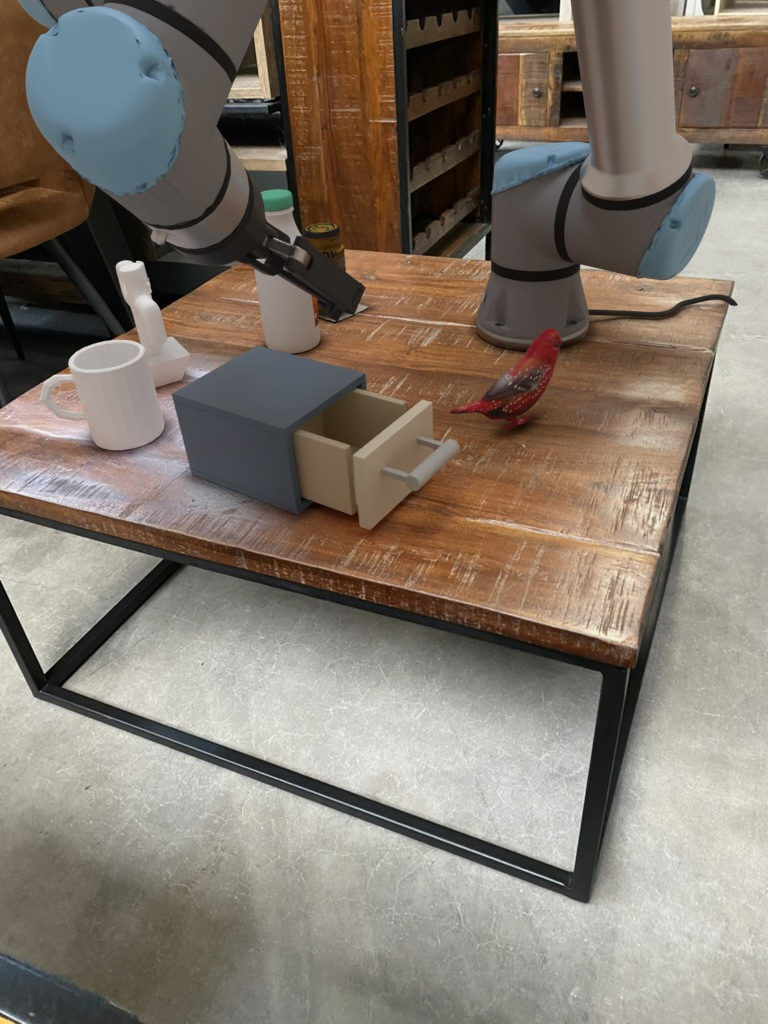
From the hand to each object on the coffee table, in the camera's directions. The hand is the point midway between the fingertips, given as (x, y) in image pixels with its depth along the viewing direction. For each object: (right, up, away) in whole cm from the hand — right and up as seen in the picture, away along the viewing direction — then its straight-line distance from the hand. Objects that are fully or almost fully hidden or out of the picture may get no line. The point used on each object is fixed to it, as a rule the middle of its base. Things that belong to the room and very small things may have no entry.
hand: (276, 279), depth 73 cm
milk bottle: (-2, +1, +34) cm, 34 cm away
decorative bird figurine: (+24, -14, +11) cm, 30 cm away
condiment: (+3, +8, +43) cm, 44 cm away
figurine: (-19, -5, +27) cm, 33 cm away
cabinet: (0, -17, +8) cm, 19 cm away
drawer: (+8, -20, +3) cm, 22 cm away
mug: (-21, -14, +15) cm, 29 cm away
